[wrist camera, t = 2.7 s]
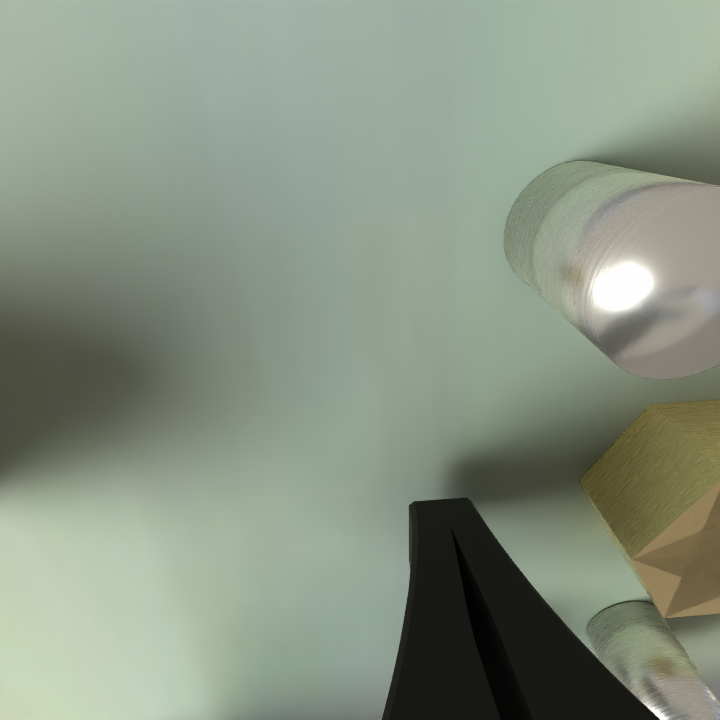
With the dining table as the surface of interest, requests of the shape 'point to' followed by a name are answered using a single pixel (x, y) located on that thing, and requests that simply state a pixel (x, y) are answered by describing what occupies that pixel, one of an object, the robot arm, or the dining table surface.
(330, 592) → the dining table surface
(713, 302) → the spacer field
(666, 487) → the wooden star block
